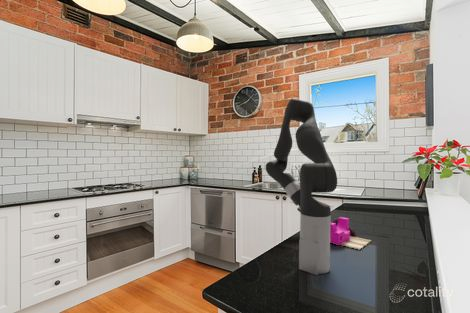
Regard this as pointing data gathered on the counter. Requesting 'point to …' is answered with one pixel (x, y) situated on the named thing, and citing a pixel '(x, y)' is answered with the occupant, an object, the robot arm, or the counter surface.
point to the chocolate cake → (349, 228)
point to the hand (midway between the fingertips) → (320, 223)
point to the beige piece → (356, 242)
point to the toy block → (340, 231)
